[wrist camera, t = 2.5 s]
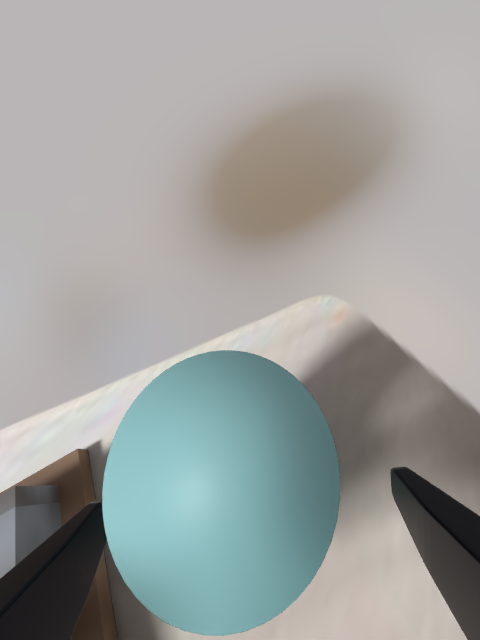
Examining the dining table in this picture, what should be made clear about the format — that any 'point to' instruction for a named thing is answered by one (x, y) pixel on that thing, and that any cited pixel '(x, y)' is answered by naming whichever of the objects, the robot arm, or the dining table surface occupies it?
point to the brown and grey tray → (45, 519)
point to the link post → (221, 493)
